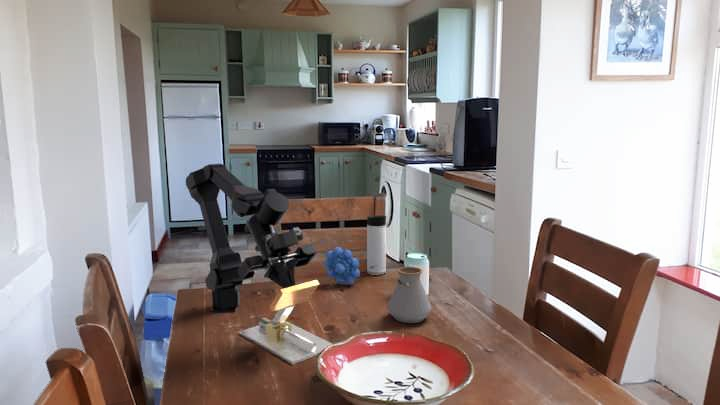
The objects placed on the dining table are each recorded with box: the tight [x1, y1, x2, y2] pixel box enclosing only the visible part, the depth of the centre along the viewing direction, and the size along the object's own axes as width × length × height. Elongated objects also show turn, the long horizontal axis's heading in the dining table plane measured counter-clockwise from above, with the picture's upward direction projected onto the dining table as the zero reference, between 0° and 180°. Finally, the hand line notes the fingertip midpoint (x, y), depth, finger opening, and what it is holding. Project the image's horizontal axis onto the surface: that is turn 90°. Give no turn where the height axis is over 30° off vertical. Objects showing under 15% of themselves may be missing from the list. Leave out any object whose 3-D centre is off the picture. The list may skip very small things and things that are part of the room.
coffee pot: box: [387, 266, 432, 324], centre depth 132 cm, size 21×12×15 cm, turn 165°
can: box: [404, 252, 430, 296], centre depth 155 cm, size 7×7×12 cm
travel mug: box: [366, 214, 387, 275], centre depth 175 cm, size 6×7×20 cm
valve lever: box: [269, 279, 320, 325], centre depth 122 cm, size 2×10×15 cm
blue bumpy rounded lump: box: [323, 246, 361, 285], centre depth 163 cm, size 12×7×12 cm, turn 78°
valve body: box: [239, 317, 333, 365], centre depth 124 cm, size 22×12×3 cm, turn 43°
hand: (293, 293), depth 120 cm, fingers closed, pressing on valve lever
